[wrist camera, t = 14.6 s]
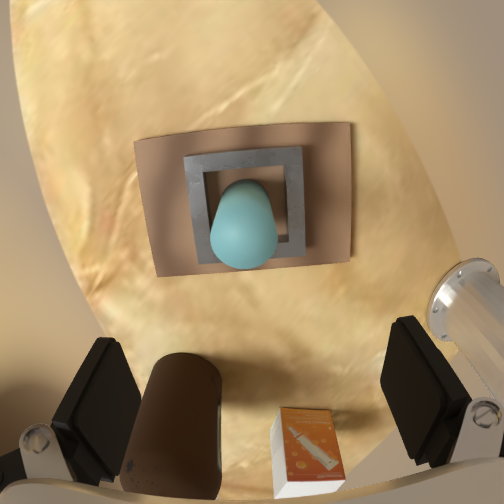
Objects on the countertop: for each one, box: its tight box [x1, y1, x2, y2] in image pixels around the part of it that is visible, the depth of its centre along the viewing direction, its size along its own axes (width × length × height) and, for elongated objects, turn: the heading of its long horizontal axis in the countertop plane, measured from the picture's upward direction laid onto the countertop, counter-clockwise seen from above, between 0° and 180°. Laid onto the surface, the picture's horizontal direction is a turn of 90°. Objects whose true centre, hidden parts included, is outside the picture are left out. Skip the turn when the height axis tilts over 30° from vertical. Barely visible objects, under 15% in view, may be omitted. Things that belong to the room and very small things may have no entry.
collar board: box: [134, 123, 351, 277], centre depth 29 cm, size 20×14×3 cm
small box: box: [270, 407, 346, 499], centre depth 38 cm, size 8×6×13 cm
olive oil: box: [119, 353, 222, 500], centre depth 28 cm, size 11×11×25 cm
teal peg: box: [210, 179, 278, 269], centre depth 26 cm, size 4×4×9 cm
